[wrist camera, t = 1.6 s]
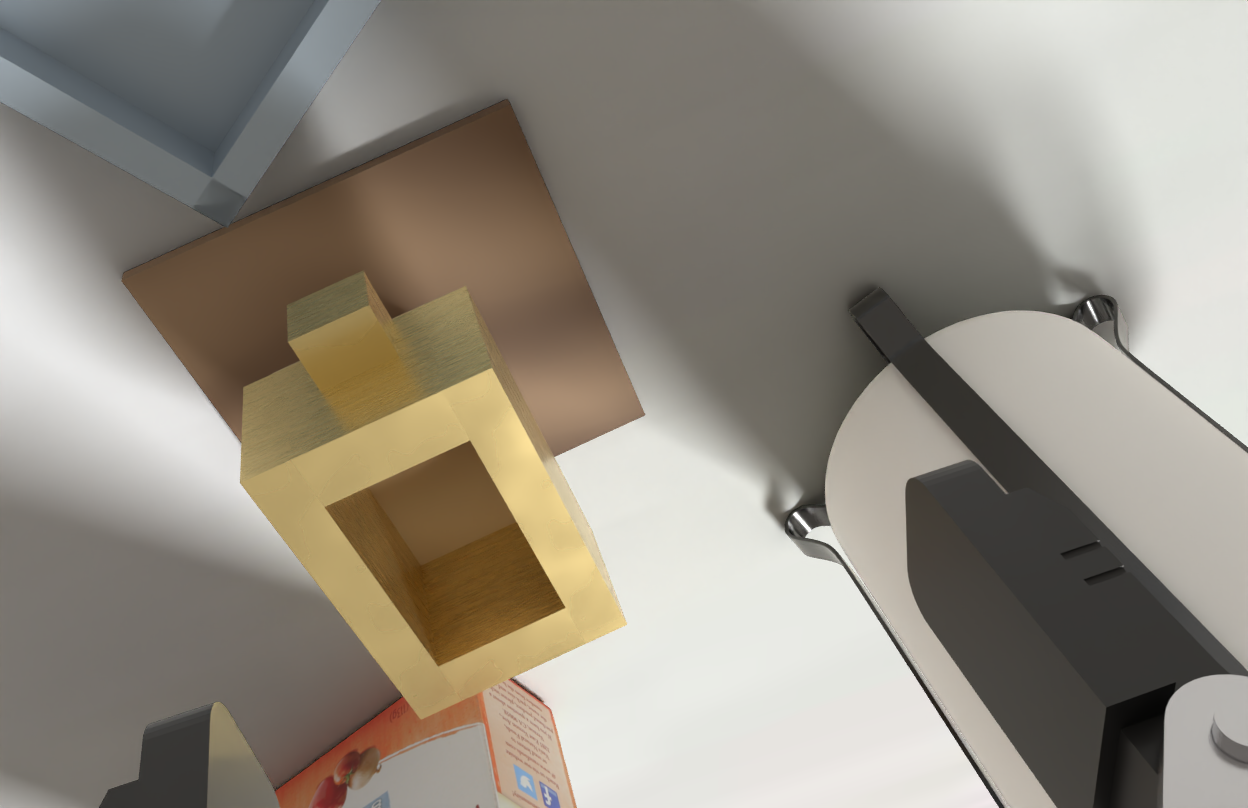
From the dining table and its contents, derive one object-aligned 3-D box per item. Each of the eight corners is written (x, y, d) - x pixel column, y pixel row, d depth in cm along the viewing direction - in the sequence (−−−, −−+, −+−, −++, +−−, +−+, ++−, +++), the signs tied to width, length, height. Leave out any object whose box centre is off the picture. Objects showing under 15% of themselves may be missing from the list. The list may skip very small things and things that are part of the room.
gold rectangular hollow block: (592, 530, 33) (627, 624, 30) (406, 616, 33) (420, 719, 30) (439, 235, 27) (463, 313, 23) (209, 340, 27) (201, 433, 23)
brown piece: (641, 407, 39) (699, 522, 34) (327, 551, 39) (337, 689, 34) (507, 99, 32) (554, 183, 27) (122, 272, 32) (94, 392, 26)
